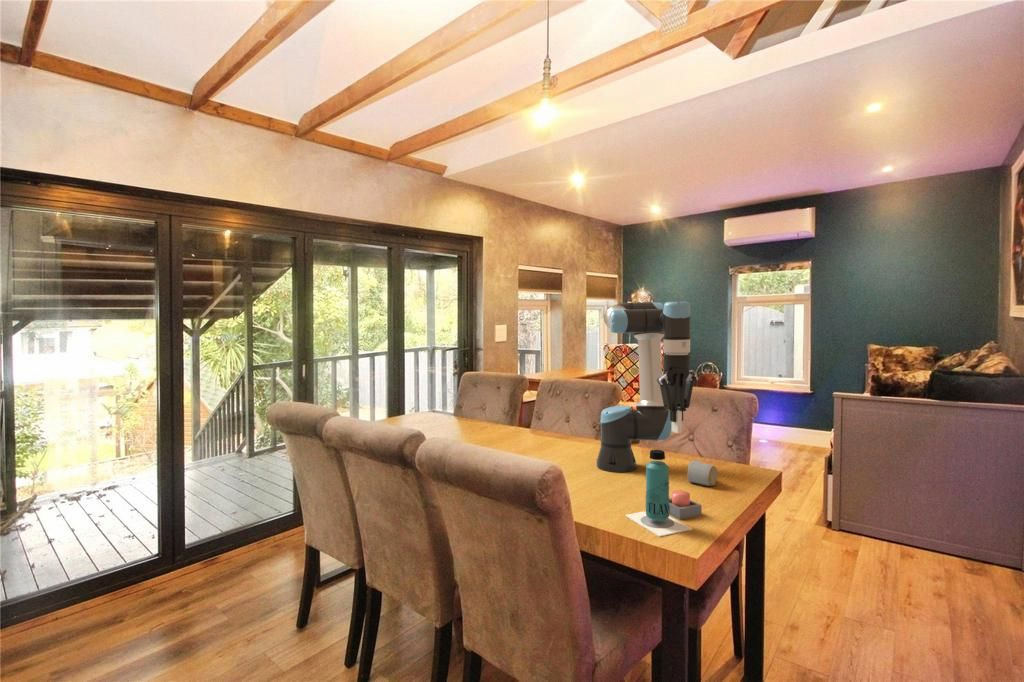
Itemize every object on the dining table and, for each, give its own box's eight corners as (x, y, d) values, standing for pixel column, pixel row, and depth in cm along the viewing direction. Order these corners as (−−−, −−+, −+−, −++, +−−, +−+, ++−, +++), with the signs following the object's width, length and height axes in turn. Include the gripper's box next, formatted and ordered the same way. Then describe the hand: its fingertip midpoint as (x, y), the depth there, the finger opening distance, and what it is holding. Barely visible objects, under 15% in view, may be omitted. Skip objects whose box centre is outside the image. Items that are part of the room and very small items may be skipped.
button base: (660, 509, 142) (660, 499, 142) (681, 505, 145) (681, 495, 145) (679, 519, 135) (679, 509, 135) (701, 515, 138) (701, 504, 138)
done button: (668, 508, 141) (668, 491, 141) (681, 505, 143) (681, 489, 143) (680, 514, 137) (680, 497, 137) (693, 511, 139) (693, 494, 138)
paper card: (624, 516, 138) (624, 514, 138) (655, 510, 142) (655, 508, 142) (659, 537, 124) (659, 535, 124) (692, 529, 128) (692, 528, 128)
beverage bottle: (644, 524, 131) (643, 452, 131) (646, 515, 137) (646, 446, 137) (669, 527, 129) (668, 454, 128) (670, 518, 135) (670, 448, 135)
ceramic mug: (710, 489, 159) (710, 466, 159) (686, 484, 165) (686, 462, 164) (721, 482, 167) (722, 460, 167) (698, 477, 172) (698, 456, 172)
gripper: (667, 355, 135) (667, 437, 136) (703, 353, 140) (702, 432, 141) (650, 353, 142) (650, 431, 143) (684, 351, 147) (684, 427, 148)
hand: (676, 432), depth 142 cm, fingers closed
